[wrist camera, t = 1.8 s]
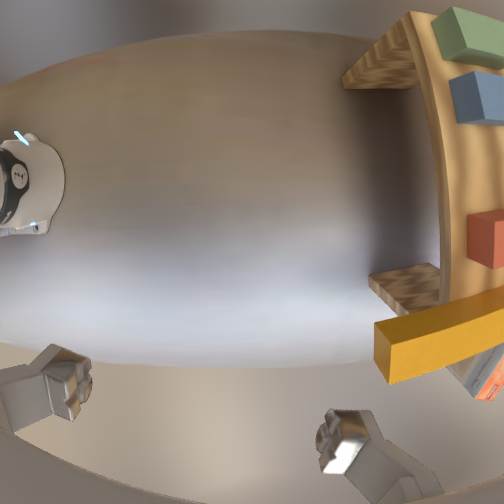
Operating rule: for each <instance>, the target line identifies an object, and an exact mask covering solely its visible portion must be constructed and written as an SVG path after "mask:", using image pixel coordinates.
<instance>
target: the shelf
mask: <svg viewBox="0 0 504 504" xmlns="http://www.w3.org/2000/svg"><path fill="white" fill-rule="evenodd" d="M437 17H438V16H436V15H431V14H426V13H420V12H414V11H409V12H408V13H406V14H405V15H404V16H403V17H402V18H401V19H400V20H399V21H398V22H397V23H396V24H395V25H394V26H393V27H392V28H390V30H388V31H387V32H386V33H385V34H384V35H383V36H382V37H381V38H380V39H379V40H378V41H377V42H376V43H375V44H374V45H373V46H372V47H371V48H370V49H369V50H368V51H367V52H366V53H365V54H364V55H363V56H362V57H361V58H360V59H359V60H358V61H357V62H356V63H355V64H354V65H353V66H352V67H351V68H350V69H349V70H348V71H347V72H346V73H345V74H344V75H343V76H342V78H341V80H342V84H343V89H370V88H399V89H410V88H412V87H414V86H416V85H418V84H420V85H421V90H422V94H423V98H424V103H425V108H426V113H427V118H428V124H429V129H430V135H431V142H432V148H433V155H434V163H435V172H436V181H437V192H438V206H439V225H440V269H439V268H437V267H435V266H433V265H432V264H430V263H426V264H421V265H417V266H412V267H407V268H403V269H398V270H393V271H388V272H383V273H378V274H373V275H369V287H370V288H371V289H372V290H373V291H374V292H375V293H376V294H377V295H378V296H379V297H380V298H381V299H382V300H383V301H384V302H385V303H386V304H387V305H388V306H389V307H390V308H391V309H392V310H393V311H394V312H395V313H396V314H397V315H398V316H403V315H407V314H411V313H415V312H419V311H422V310H426V309H430V308H433V307H437V306H440V305H444V304H447V303H451V302H454V301H457V300H460V299H464V298H467V297H470V296H473V295H476V294H479V293H483V292H486V291H489V290H491V289H494V288H497V287H500V286H503V285H504V267H501V268H498V269H495V270H492V269H490V268H488V267H486V266H484V265H482V264H480V263H478V262H475V261H473V260H471V259H469V258H467V239H468V238H467V215H468V214H474V213H481V212H487V211H493V210H499V209H504V126H493V125H475V124H458V123H457V117H456V112H455V107H454V102H453V98H452V93H451V89H450V85H449V80H451V79H454V78H456V77H459V76H462V75H464V74H467V73H469V72H472V71H479V72H485V73H490V74H494V75H499V76H504V69H501V70H496V69H492V68H487V67H483V66H477V65H472V64H467V63H461V62H454V61H448V60H443V59H442V56H441V52H440V49H439V46H438V43H437V40H436V37H435V34H434V31H433V28H432V25H431V21H433V20H434V19H435V18H437Z"/></svg>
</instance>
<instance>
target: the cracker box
mask: <svg viewBox="0 0 504 504" xmlns="http://www.w3.org/2000/svg"><path fill="white" fill-rule="evenodd" d="M446 368H447V369H448V370H449V371H450V372H451V373H452V374H453V375H454V376H455V377H456V379H457V380H458V381H459V382H460V383H461V384H462V385H463V386H464V387H465V388H466V389H467V390H468V392H469V393H470V394H471V395H472V396H473V397H474V398H475V399H478V400H484V401H492V400H493V399H494V397H495V396H496V394H497V393H498V392H499V390H500V389H501V387H502V386H503V384H504V342H503V343H501V344H499V345H497V346H494V347H492V348H490V349H488V350H485V351H483V352H481V353H478V354H476V355H474V356H471V357H469V358H466V359H464V360H461V361H459V362H456V363H454V364H451V365H448V366H446Z"/></svg>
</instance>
